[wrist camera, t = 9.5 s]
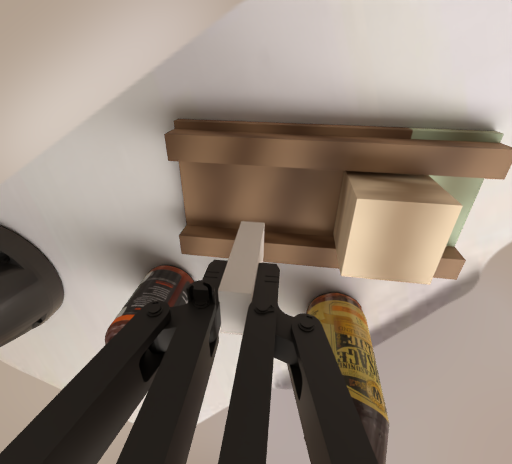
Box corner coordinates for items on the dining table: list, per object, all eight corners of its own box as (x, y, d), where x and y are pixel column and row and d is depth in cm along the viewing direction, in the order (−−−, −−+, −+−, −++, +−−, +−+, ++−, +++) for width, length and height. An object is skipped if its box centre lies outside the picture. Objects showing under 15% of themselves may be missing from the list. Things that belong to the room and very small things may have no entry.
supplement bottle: (138, 267, 32) (69, 353, 23) (184, 258, 31) (131, 347, 21) (162, 305, 35) (109, 397, 25) (206, 299, 33) (166, 394, 24)
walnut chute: (192, 242, 30) (182, 258, 27) (178, 118, 23) (163, 125, 21) (439, 264, 27) (453, 285, 24) (495, 131, 21) (522, 140, 18)
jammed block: (333, 233, 26) (340, 275, 20) (344, 168, 22) (357, 198, 17) (403, 239, 25) (429, 284, 20) (425, 172, 22) (462, 205, 17)
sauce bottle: (375, 313, 31) (463, 615, 14) (329, 337, 34) (357, 613, 17) (335, 277, 29) (382, 570, 12) (291, 305, 32) (279, 576, 15)
